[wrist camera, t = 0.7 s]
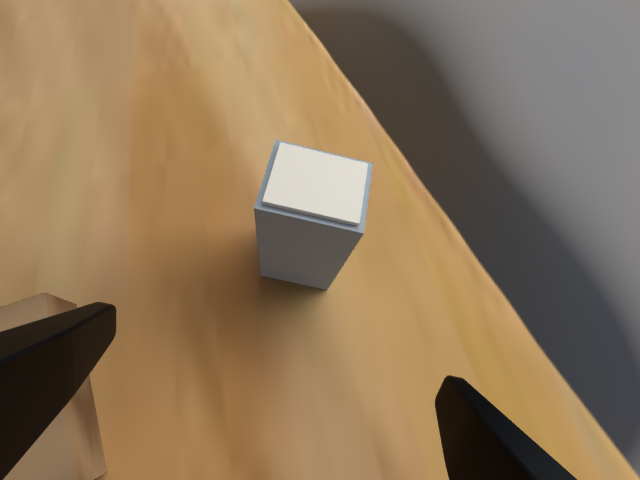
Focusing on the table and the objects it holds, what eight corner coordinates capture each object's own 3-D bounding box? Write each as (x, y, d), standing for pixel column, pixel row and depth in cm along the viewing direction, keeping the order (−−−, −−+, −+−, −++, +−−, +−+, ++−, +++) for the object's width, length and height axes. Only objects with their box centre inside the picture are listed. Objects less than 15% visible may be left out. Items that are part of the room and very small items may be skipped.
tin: (327, 290, 23) (365, 230, 14) (260, 275, 23) (253, 205, 14) (335, 241, 25) (374, 160, 16) (273, 227, 25) (275, 136, 15)
